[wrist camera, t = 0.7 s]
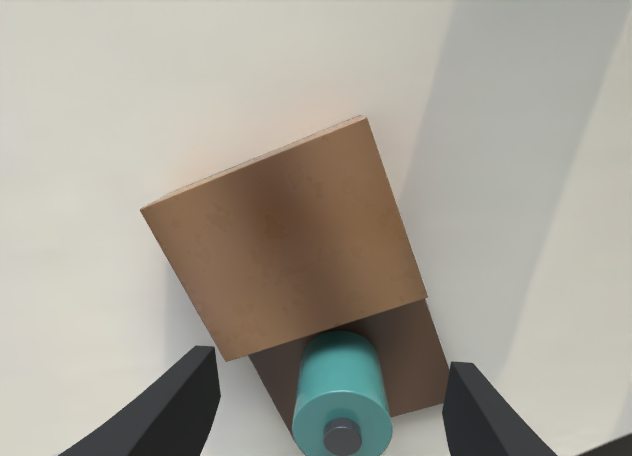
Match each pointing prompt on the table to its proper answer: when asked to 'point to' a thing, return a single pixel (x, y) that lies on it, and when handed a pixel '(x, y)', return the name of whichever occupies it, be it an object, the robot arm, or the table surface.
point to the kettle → (341, 398)
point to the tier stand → (305, 264)
